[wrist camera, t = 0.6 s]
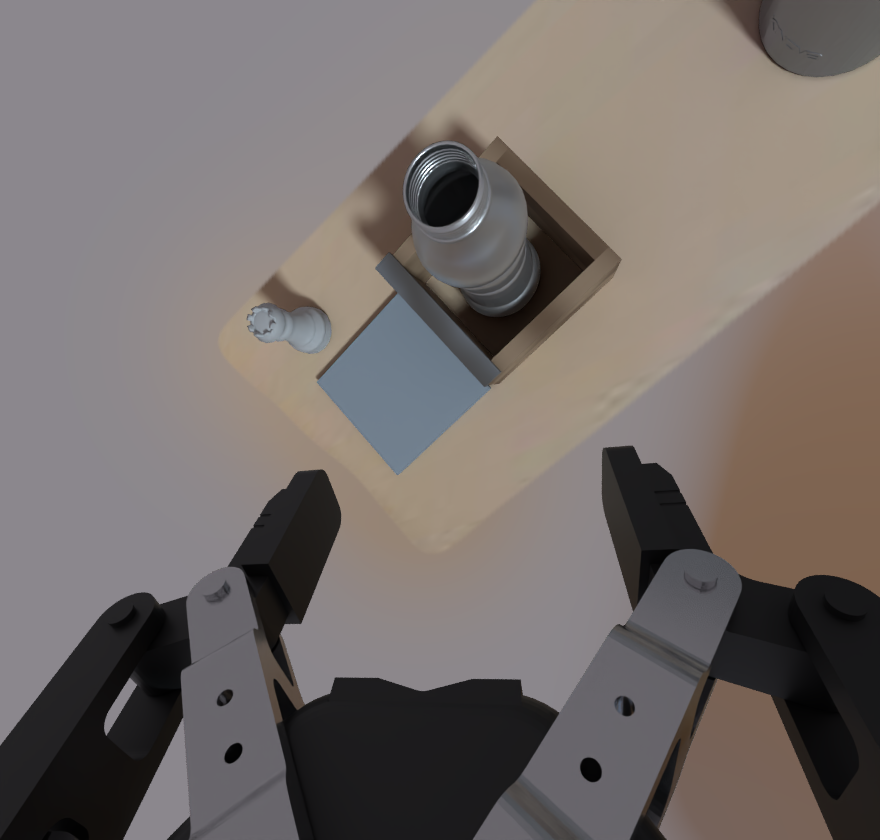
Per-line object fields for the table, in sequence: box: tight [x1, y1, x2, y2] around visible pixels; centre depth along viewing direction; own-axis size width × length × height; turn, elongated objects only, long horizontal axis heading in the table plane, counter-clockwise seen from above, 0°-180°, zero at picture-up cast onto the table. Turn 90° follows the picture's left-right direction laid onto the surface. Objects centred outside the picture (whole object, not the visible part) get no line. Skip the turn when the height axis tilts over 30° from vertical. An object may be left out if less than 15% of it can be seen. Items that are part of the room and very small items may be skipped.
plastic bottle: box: [403, 141, 541, 317], centre depth 29 cm, size 6×7×20 cm
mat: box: [317, 293, 491, 475], centre depth 41 cm, size 12×12×1 cm
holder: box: [375, 136, 621, 387], centre depth 35 cm, size 13×12×7 cm
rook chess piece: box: [247, 303, 331, 354], centre depth 40 cm, size 4×4×8 cm
